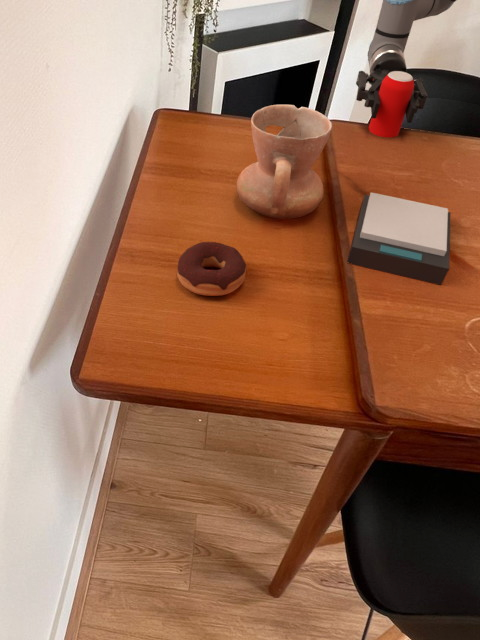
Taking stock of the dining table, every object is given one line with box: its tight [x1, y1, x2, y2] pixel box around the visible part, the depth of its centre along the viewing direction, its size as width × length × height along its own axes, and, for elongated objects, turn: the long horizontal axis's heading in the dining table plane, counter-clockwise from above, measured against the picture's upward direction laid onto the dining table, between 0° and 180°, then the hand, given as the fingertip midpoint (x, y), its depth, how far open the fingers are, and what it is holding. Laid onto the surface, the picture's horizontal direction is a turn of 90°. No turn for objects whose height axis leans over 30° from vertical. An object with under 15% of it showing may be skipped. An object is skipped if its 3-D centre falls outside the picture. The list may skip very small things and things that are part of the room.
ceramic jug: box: [236, 104, 333, 220], centre depth 85 cm, size 18×14×14 cm
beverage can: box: [368, 71, 414, 139], centre depth 105 cm, size 6×6×12 cm
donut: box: [176, 241, 247, 297], centre depth 75 cm, size 10×10×4 cm
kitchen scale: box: [346, 191, 452, 286], centre depth 83 cm, size 16×14×4 cm
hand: (393, 113), depth 101 cm, fingers closed on beverage can, 6 cm apart
